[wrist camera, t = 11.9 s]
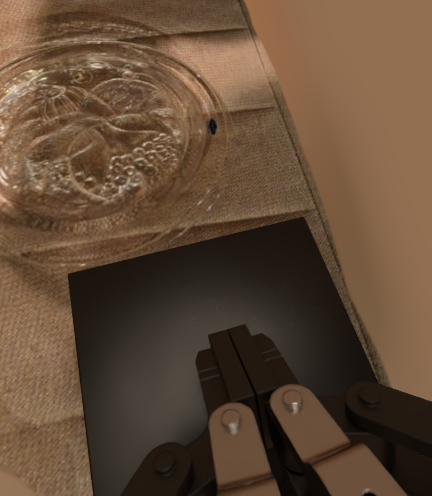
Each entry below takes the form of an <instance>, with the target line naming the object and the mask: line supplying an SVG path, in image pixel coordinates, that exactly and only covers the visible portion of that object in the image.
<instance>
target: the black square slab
mask: <svg viewBox="0 0 432 496" xmlns="http://www.w3.org/2000/svg"><path fill="white" fill-rule="evenodd" d="M68 282H69V290H70V299H71V308H72V316H73V325H74V333H75V342H76V351H77V359H78V368H79V377H80V385H81V394H82V402H83V411H84V420H85V428H86V437H87V446H88V454H89V463H90V471H91V480H92V489H93V496H120V495H121V493H122V492H123V490H124V489H125V487H126V486H127V484H128V483H129V481H130V480H131V478H132V477H133V475H134V474H135V472H136V471H137V469H138V468H139V466H140V465H141V463H142V462H143V460H144V459H145V457H146V456H147V455H148V453H149V452H150V451H151V450H153V449H154V448H155V447H157V446H159V445H161V444H164V443H168V442H176V443H180V444H182V445H183V446H186V445H188V444H189V443H191V442H192V441H194V440H195V439H196V438H198V437H199V436H200V435H201V433H202V432H203V431H204V429H205V427H206V425H207V422H208V412H207V408H206V404H205V400H204V396H203V392H202V388H201V384H200V380H199V376H198V372H197V368H196V364H195V360H196V357H197V354H198V351H202V350H205V349H209V348H211V347H210V343H209V338H208V335H209V334H212V333H216V332H219V331H223V330H226V331H227V329H229V328H233V327H236V326H240V325H244V324H245V325H246V326H247V328H248V330H249V332H250V334H251V335H252V336H253V335H257V334H260V333H263V334H264V335H266V336H267V337H269V338H271V339H272V341H273V342H274V344H275V345H276V347H277V349H278V350H279V352H280V353H281V355H282V357H283V358H284V360H285V361H286V363H287V364H288V366H289V368H290V369H291V371H292V372H293V374H294V375H295V377H296V379H297V380H298V382H299V383H300V385H301V386H304V387H306V388H308V389H309V390H310V391H311V392H312V393H313V394H315V395H319V396H327V397H330V396H344V394H345V391H346V389H347V388H348V387H349V386H350V385H351V384H353V383H356V382H360V381H370V382H375V383H378V381H377V379H376V377H375V374H374V372H373V370H372V368H371V365H370V363H369V361H368V359H367V356H366V354H365V352H364V350H363V348H362V345H361V343H360V341H359V339H358V336H357V334H356V332H355V330H354V327H353V325H352V323H351V321H350V318H349V316H348V314H347V312H346V310H345V307H344V305H343V303H342V301H341V298H340V296H339V294H338V292H337V289H336V287H335V285H334V283H333V280H332V278H331V276H330V274H329V271H328V269H327V267H326V265H325V263H324V260H323V258H322V256H321V254H320V251H319V249H318V247H317V245H316V242H315V240H314V238H313V236H312V233H311V231H310V229H309V227H308V225H307V222H306V220H305V218H304V217H300V218H296V219H292V220H288V221H284V222H279V223H275V224H271V225H267V226H263V227H259V228H255V229H251V230H247V231H242V232H238V233H234V234H230V235H226V236H222V237H218V238H214V239H210V240H205V241H201V242H197V243H193V244H189V245H185V246H181V247H177V248H173V249H168V250H164V251H160V252H156V253H152V254H148V255H144V256H140V257H136V258H131V259H127V260H123V261H119V262H115V263H111V264H107V265H103V266H99V267H94V268H90V269H86V270H82V271H78V272H74V273H70V274H68ZM378 384H379V383H378ZM263 444H264V442H263ZM401 447H402V446H401ZM264 449H265V453H266V456H267V459H268V463H269V466H270V469H271V472H272V475H274V477H275V479H276V482H277V485H278V488H279V491H280V495H281V496H294V495H293V493H292V491H291V489H290V487H289V485H288V483H287V481H286V479H285V477H284V475H283V473H282V471H281V468H280V463H279V457H278V454H277V452H276V450H275V447H272V448H269V449H266V447H265V444H264Z"/></svg>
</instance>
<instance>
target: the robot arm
mask: <svg viewBox="0 0 432 496" xmlns="http://www.w3.org/2000/svg"><path fill="white" fill-rule="evenodd" d="M208 338H209V343H210V347H211V348H209V349H205V350H202V351H198V354H197V357H196V360H195V364H196V368H197V372H198V376H199V380H200V384H201V388H202V392H203V396H204V400H205V404H206V408H207V412H208V422H207V425H206V427H205V429H204V431H203V432H202V433H201V435H200V436H199V437H198V438H196V439H195V440H194V441H192V442H191V443H189V444H188V445H186V446H183V445H182V444H180V443H176V442H168V443H164V444H161V445H159V446H157V447H155V448H154V449H153V450H151V451H150V452H149V453H148V455H147V456H146V457H145V459H144V460H143V462H142V463H141V465H140V466H139V468H138V469H137V471H136V472H135V474H134V475H133V477H132V478H131V480H130V481H129V483H128V484H127V486H126V487H125V489H124V490H123V492H122V493H121V495H120V496H281V495H280V491H279V488H278V485H277V482H276V479H275V477H274V475H272V472H271V469H270V466H269V463H268V459H267V456H266V453H265V449H264V444H265V447H266V449H269V448H272V447H275V450H276V452H277V454H278V457H279V463H280V468H281V471H282V473H283V475H284V477H285V479H286V481H287V483H288V485H289V487H290V489H291V491H292V493H293V495H294V496H432V402H431V401H428V400H425V399H422V398H419V397H416V396H413V395H410V394H408V393H404V392H402V391H399V390H396V389H393V388H390V387H387V386H384V385H381V384H378V383H375V382H370V381H360V382H356V383H353V384H351V385H350V386H349V387H348V388H347V389H346V391H345V394H344V396H330V397H327V396H319V395H315V394H313V393H312V392H311V391H310V390H309V389H308V388H306V387H304V386H301V385H300V383H299V382H298V380H297V379H296V377H295V375H294V374H293V372H292V371H291V369H290V368H289V366H288V364H287V363H286V361H285V360H284V358H283V357H282V355H281V353H280V352H279V350H278V349H277V347H276V345H275V344H274V342H273V341H272V339H271V338H269V337H267V336H266V335H264V334H263V333H260V334H257V335H253V336H252V335H251V334H250V332H249V330H248V328H247V326H246V325H245V324H244V325H240V326H236V327H233V328H229V329H227V331H226V330H223V331H219V332H216V333H212V334H209V335H208ZM263 442H264V444H263ZM401 446H402V447H401ZM408 449H409V450H408ZM415 452H416V453H415ZM422 455H423V456H422ZM429 458H430V459H429Z"/></svg>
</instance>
